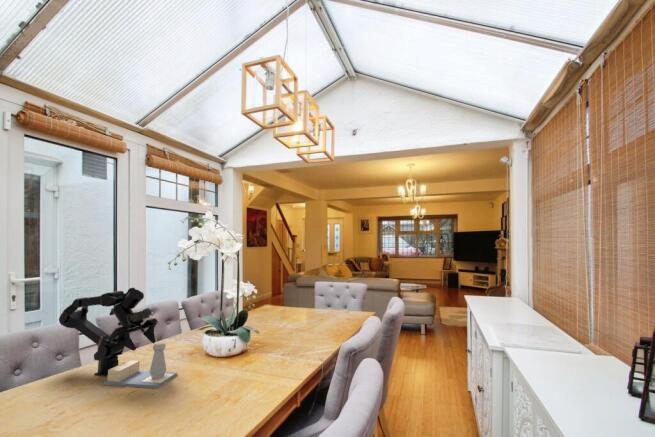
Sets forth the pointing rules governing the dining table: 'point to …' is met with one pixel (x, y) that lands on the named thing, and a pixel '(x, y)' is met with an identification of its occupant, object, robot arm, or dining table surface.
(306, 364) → the dining table surface
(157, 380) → the board
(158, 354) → the salt shaker
